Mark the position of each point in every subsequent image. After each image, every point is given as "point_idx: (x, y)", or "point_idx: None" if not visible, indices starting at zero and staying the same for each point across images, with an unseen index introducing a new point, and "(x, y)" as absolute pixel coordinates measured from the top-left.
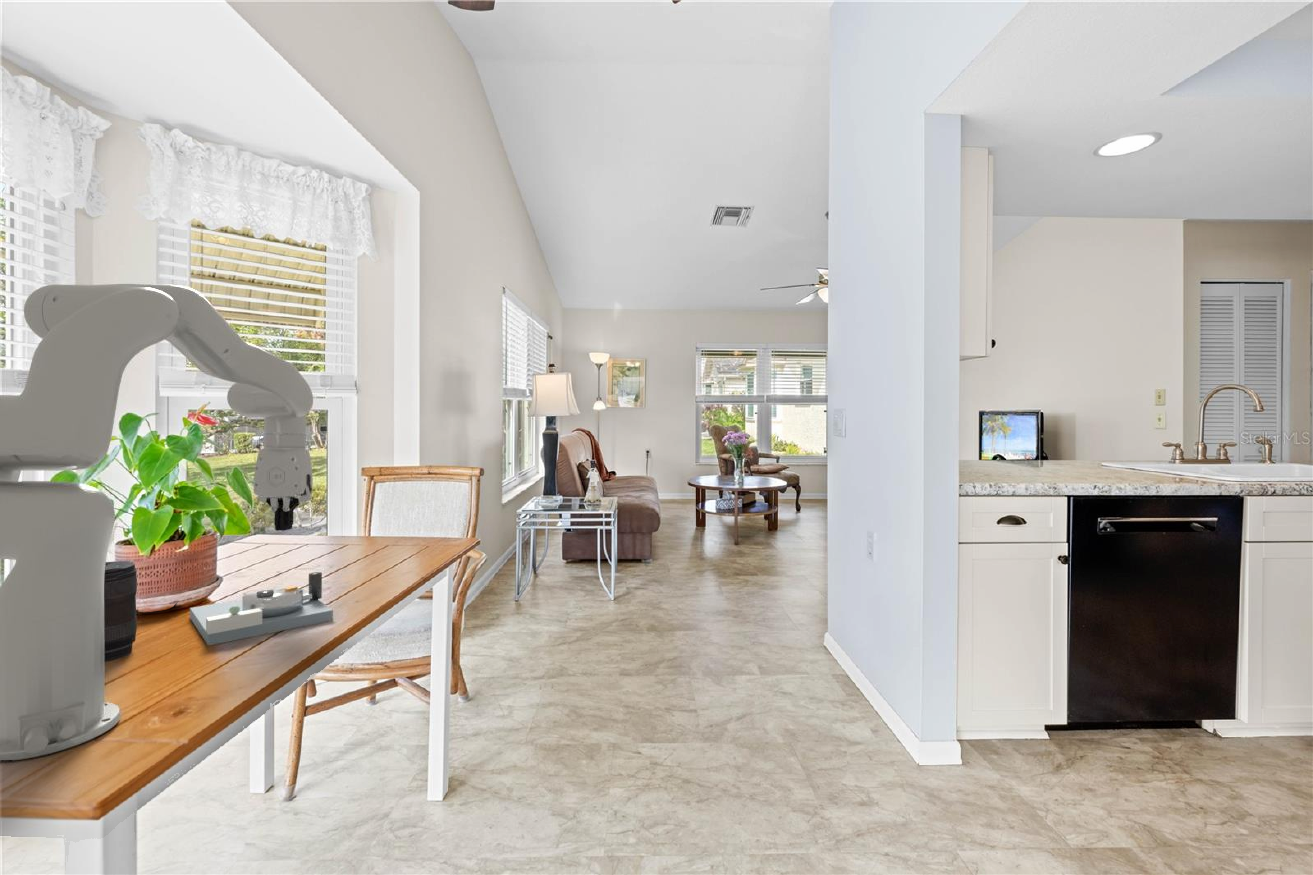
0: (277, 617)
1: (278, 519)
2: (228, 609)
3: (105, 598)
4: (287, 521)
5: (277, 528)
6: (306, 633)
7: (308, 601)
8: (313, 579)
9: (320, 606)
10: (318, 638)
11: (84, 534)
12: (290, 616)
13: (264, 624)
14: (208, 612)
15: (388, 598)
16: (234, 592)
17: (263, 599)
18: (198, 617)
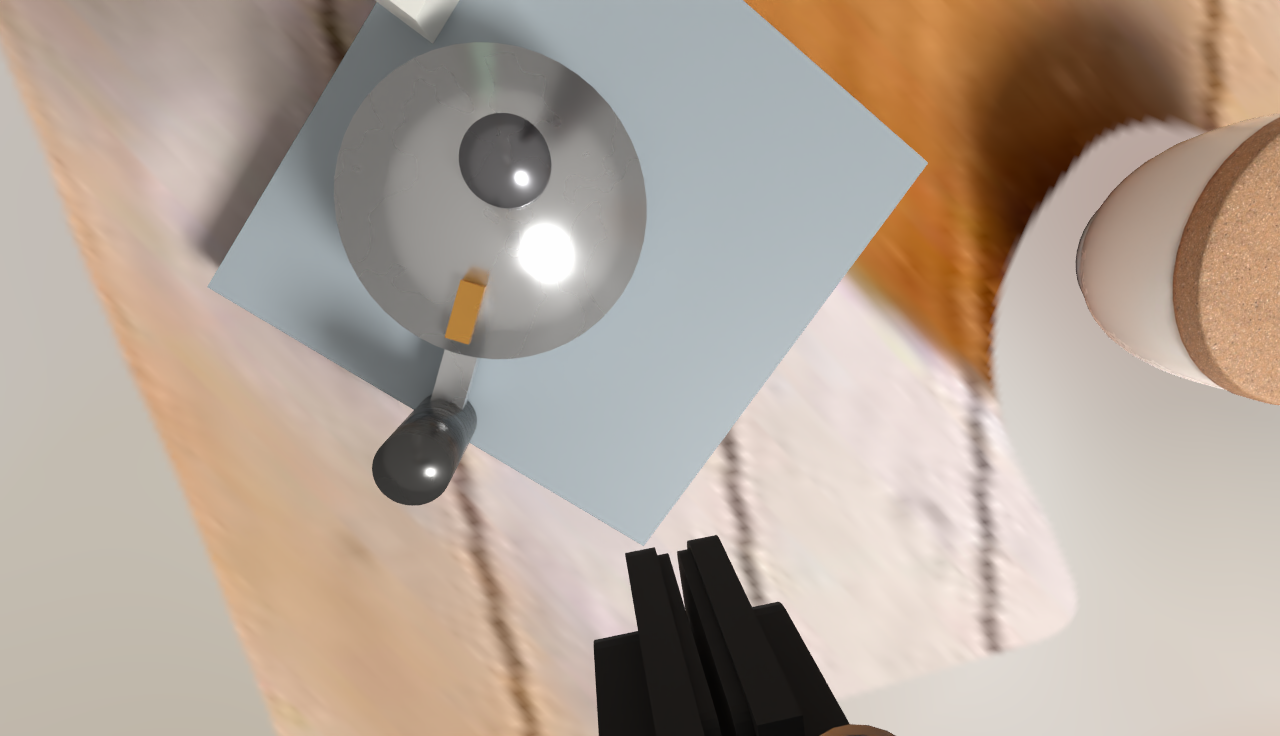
0: None
1: (715, 634)
2: (734, 180)
3: None
4: (608, 669)
5: (689, 546)
6: (197, 81)
7: None
8: (401, 427)
9: (324, 326)
10: (71, 24)
11: None
12: (334, 142)
13: (372, 14)
14: (788, 117)
15: (245, 624)
16: (992, 517)
17: (452, 91)
18: (771, 34)
